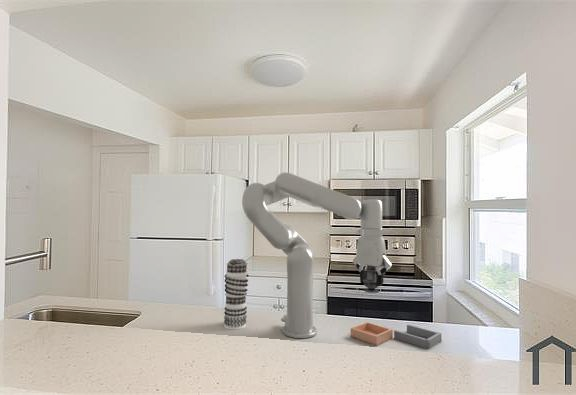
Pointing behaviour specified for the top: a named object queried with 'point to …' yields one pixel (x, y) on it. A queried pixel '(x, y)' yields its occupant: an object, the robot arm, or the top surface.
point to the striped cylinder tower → (235, 294)
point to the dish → (371, 333)
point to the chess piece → (371, 280)
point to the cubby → (426, 343)
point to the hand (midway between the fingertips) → (371, 283)
